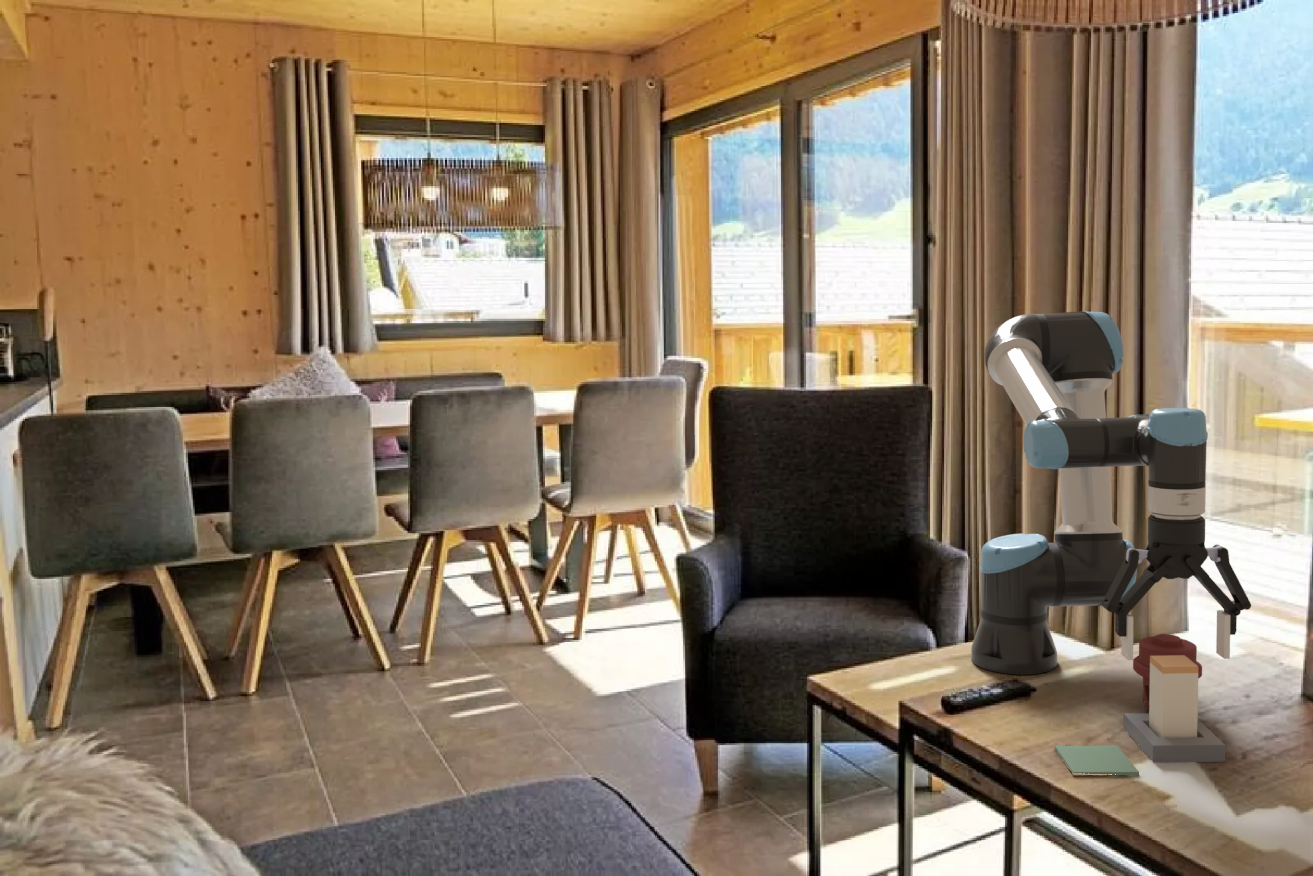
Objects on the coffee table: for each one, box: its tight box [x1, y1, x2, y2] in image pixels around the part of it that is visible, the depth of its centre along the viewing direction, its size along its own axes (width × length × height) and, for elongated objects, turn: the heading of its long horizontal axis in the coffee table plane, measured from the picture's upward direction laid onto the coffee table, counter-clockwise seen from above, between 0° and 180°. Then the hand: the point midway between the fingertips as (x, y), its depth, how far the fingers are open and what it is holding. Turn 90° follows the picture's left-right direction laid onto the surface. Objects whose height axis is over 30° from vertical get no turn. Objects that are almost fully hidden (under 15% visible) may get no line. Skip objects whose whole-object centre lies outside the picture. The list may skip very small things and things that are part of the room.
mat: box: [1054, 745, 1140, 776], centre depth 155 cm, size 9×9×1 cm
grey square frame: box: [1123, 713, 1226, 763], centre depth 160 cm, size 12×10×2 cm
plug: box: [1148, 655, 1199, 738], centre depth 159 cm, size 5×5×13 cm
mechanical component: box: [1132, 633, 1203, 710], centre depth 172 cm, size 12×10×10 cm
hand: (1174, 656), depth 158 cm, fingers open, 13 cm apart
